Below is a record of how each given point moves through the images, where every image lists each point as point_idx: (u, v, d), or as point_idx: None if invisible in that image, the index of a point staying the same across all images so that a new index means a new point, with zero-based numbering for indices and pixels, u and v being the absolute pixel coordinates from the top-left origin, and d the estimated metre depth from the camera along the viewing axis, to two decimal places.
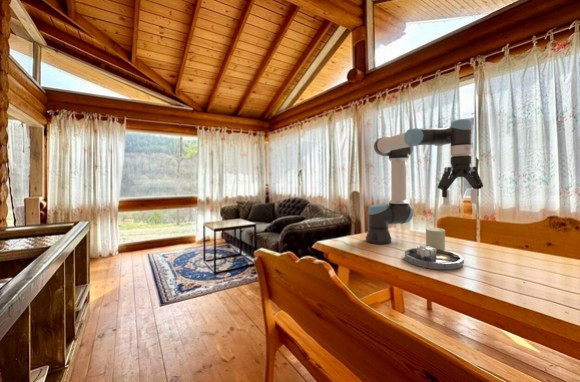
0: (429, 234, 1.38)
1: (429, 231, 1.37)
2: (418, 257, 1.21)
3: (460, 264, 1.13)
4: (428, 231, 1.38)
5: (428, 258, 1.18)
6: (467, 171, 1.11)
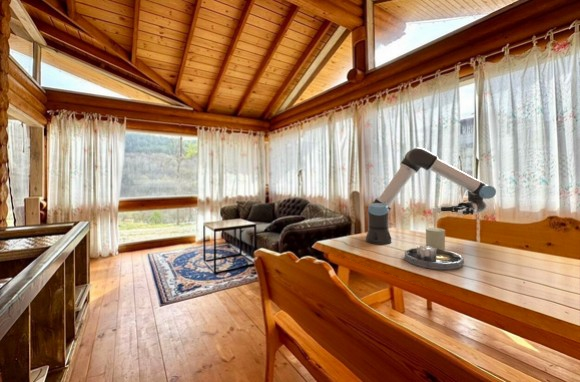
0: (429, 234, 1.38)
1: (429, 231, 1.37)
2: (418, 257, 1.21)
3: (460, 264, 1.13)
4: (428, 231, 1.38)
5: (428, 258, 1.18)
6: None
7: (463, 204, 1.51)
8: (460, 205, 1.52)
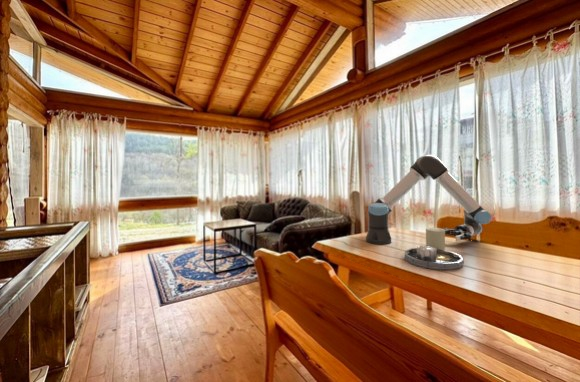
0: (429, 234, 1.38)
1: (429, 231, 1.37)
2: (418, 257, 1.21)
3: (460, 264, 1.13)
4: (428, 231, 1.38)
5: (428, 258, 1.18)
6: (454, 235, 1.51)
7: (460, 228, 1.51)
8: (457, 228, 1.52)
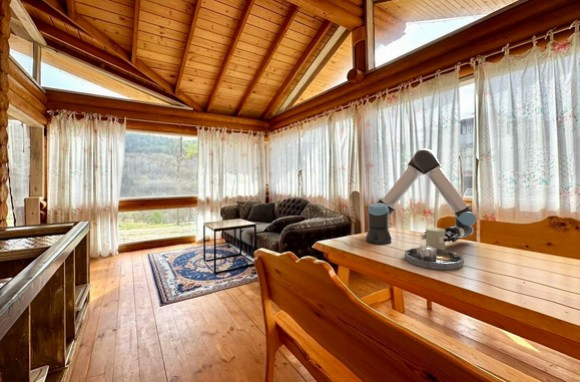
0: (429, 234, 1.38)
1: (429, 231, 1.37)
2: (418, 257, 1.21)
3: (460, 264, 1.13)
4: (428, 231, 1.38)
5: (428, 258, 1.18)
6: None
7: (450, 229, 1.46)
8: (447, 230, 1.47)
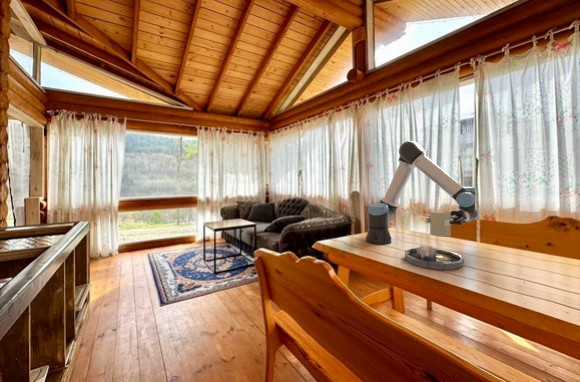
0: (434, 217, 1.28)
1: (434, 213, 1.28)
2: (418, 257, 1.21)
3: (460, 264, 1.13)
4: (433, 214, 1.28)
5: (428, 258, 1.18)
6: None
7: (455, 213, 1.37)
8: (451, 214, 1.38)
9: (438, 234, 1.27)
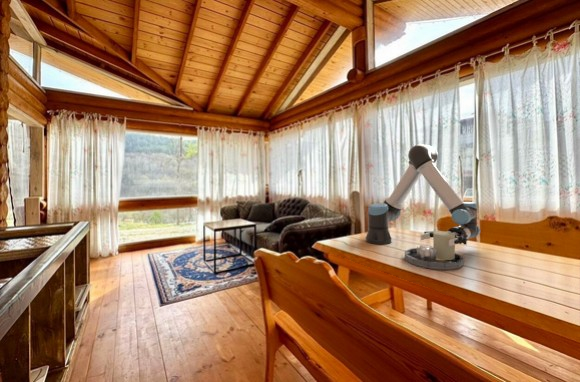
0: (437, 239, 1.22)
1: (437, 235, 1.22)
2: (418, 257, 1.21)
3: (460, 264, 1.13)
4: (436, 235, 1.22)
5: (428, 258, 1.18)
6: None
7: (455, 230, 1.32)
8: (451, 231, 1.33)
9: (441, 257, 1.21)
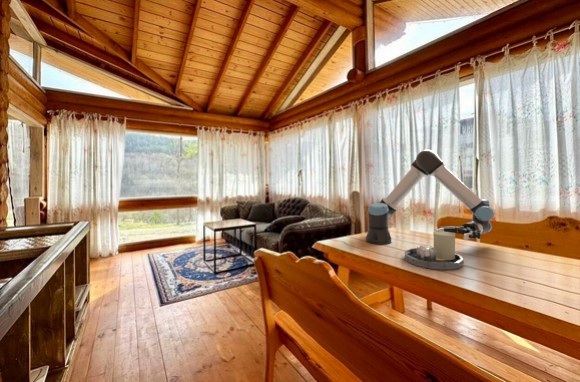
0: (438, 239, 1.22)
1: (438, 235, 1.22)
2: (418, 257, 1.21)
3: (460, 264, 1.13)
4: (437, 235, 1.22)
5: (428, 258, 1.18)
6: (461, 233, 1.39)
7: (468, 225, 1.38)
8: (465, 226, 1.40)
9: (442, 257, 1.21)
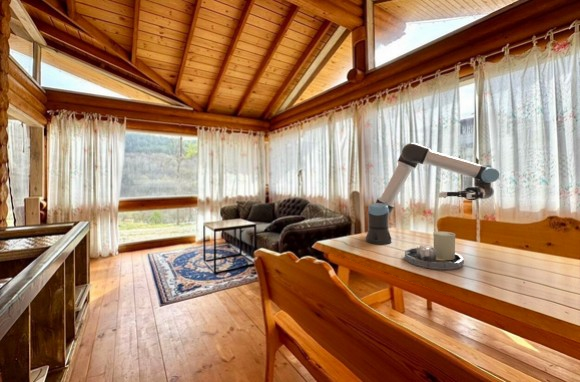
0: (438, 239, 1.22)
1: (438, 235, 1.22)
2: (418, 257, 1.21)
3: (460, 264, 1.13)
4: (436, 235, 1.22)
5: (428, 258, 1.18)
6: (464, 197, 1.41)
7: (470, 189, 1.41)
8: (467, 190, 1.42)
9: (442, 257, 1.21)
